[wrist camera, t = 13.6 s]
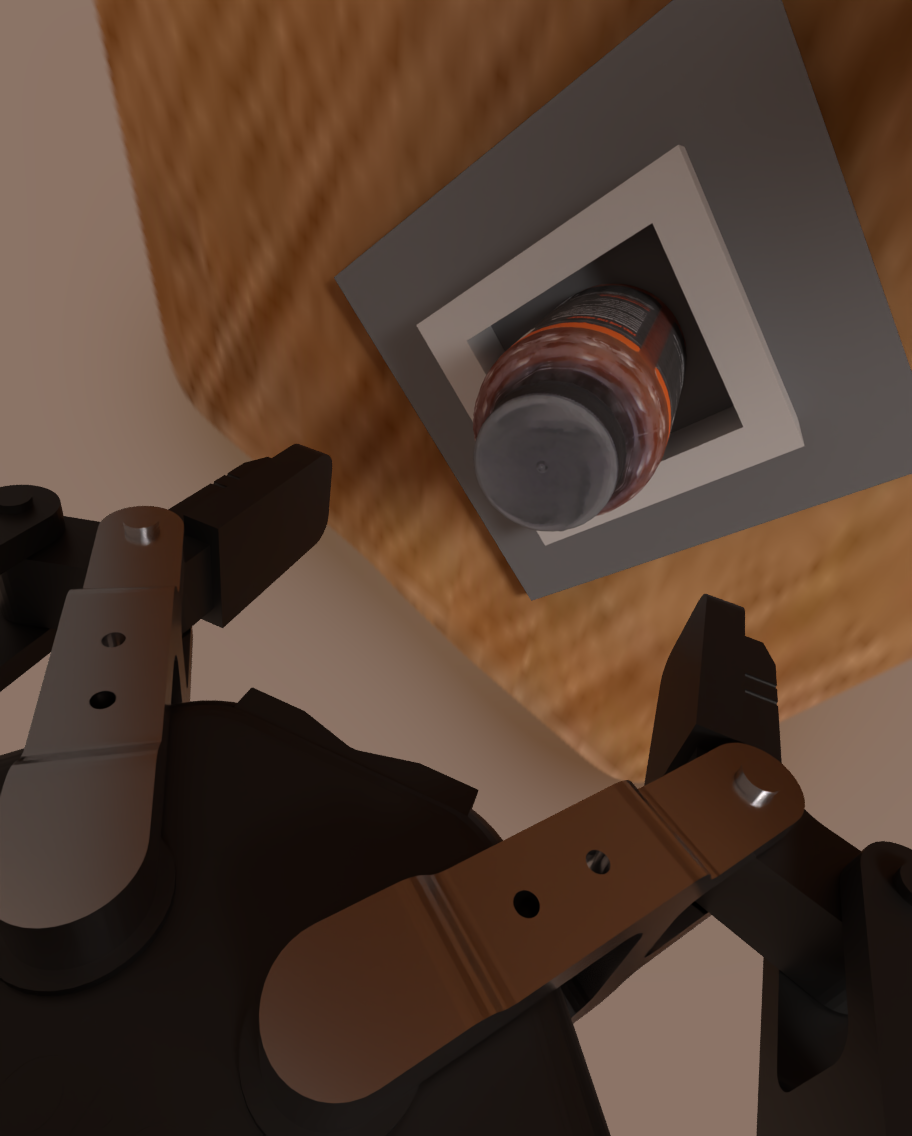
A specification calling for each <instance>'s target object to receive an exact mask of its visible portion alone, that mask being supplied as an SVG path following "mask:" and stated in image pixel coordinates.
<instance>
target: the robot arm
mask: <svg viewBox="0 0 912 1136" xmlns="http://www.w3.org/2000/svg"><path fill="white" fill-rule="evenodd" d="M331 476H332V460H331V458H330V456H329V455H327V454H324V453H322V452H319V451H316V450H313V449H311V448H308V447H305V446H302V445H300V444H294V445H292V446H290V447H289V448H287V449H286V450H284V451H282V452H281V453H279V454H278V455H276V456H275V457H273V458H269V457H265V458H261V459H257V460H254V461H250V462H246V463H243V464H242V465H240V466H239V467H237V468H235V469H234V470H232V471H231V472H229V473H228V475H227V476H225V475H224V476H222V477H221V478H219V479H217V480H216V481H214V484H209V485H208V486H206V487H204V488H203V489H201V490H199V491H198V492H196V493H194V494H193V495H191V496H190V497H188V498H186V499H185V500H183V501H182V502H180V503H178V504H177V505H175V506H173V507H172V508H170V509H168V510H167V509H164V508H160V507H154V506H136V507H129V508H124V509H121V510H118V511H115V512H113V513H111V514H109V515H108V516H106V517H105V518H104V519H103V520H102V521H101V522H97V521H90V520H85V519H78V518H72V517H66V516H63V511H62V507H61V502H60V499H59V497H58V496H57V494H56V493H54V492H53V491H51V490H49V489H46V488H43V487H39V486H33V485H10V486H4V487H0V692H1V691H2V690H3V689H4V688H6V687H7V686H8V685H10V684H11V683H12V682H13V681H15V680H16V679H17V678H18V677H20V676H21V675H22V674H24V673H25V672H26V671H27V670H29V669H30V668H31V667H32V666H34V665H35V664H36V663H38V662H39V661H40V660H41V659H42V658H44V657H45V656H46V655H48V654H49V653H50V652H51V654H50V658H49V662H48V665H47V669H46V672H45V676H44V680H43V683H42V687H41V691H40V694H39V698H38V701H37V705H36V709H35V713H34V716H33V720H32V723H31V727H30V731H29V734H28V738H27V742H26V745H25V748H24V749H21V750H17V751H14V752H11V753H7V754H4V755H0V1136H611V1135H610V1132H609V1130H608V1126H607V1123H606V1120H605V1118H604V1115H603V1112H602V1109H601V1106H600V1103H599V1100H598V1097H597V1094H596V1091H595V1088H594V1085H593V1082H592V1079H591V1076H590V1073H589V1070H588V1067H587V1064H586V1062H585V1059H584V1055H583V1052H582V1049H581V1046H580V1044H579V1041H578V1037H577V1034H576V1031H575V1029H574V1026H573V1023H575V1022H576V1021H577V1020H579V1019H580V1018H581V1017H583V1016H584V1015H585V1014H587V1013H588V1012H589V1011H591V1010H592V1009H593V1008H594V1007H596V1006H597V1005H598V1004H600V1003H601V1002H602V1001H603V1000H604V999H605V998H607V997H608V996H609V995H610V994H611V993H612V992H614V991H615V990H616V989H617V988H618V987H619V986H620V985H621V984H622V983H623V982H624V981H625V980H626V979H627V978H629V977H630V976H631V975H632V974H633V973H634V972H636V971H637V970H638V969H639V968H641V967H642V966H643V965H645V964H646V963H648V962H649V961H650V960H652V959H653V958H654V957H655V956H657V955H658V954H660V953H661V952H662V951H664V950H665V949H666V948H668V947H669V946H670V945H672V944H673V943H674V942H676V941H677V940H679V939H680V938H681V937H683V936H684V935H685V934H687V933H688V932H689V931H691V930H692V929H693V928H695V927H696V926H697V925H698V924H700V923H701V922H703V921H704V920H705V919H707V918H708V917H710V916H711V915H713V916H714V917H715V918H716V919H718V920H719V921H720V922H721V923H723V924H724V925H725V926H726V927H727V928H729V929H730V930H731V931H732V932H734V933H735V934H736V935H737V936H739V937H740V938H741V939H742V940H743V941H745V942H746V943H747V944H748V945H750V946H751V947H752V948H753V949H754V950H756V951H757V952H758V953H759V954H761V955H762V956H763V957H764V961H763V988H762V1012H761V1037H760V1064H759V1066H760V1067H759V1088H758V1089H759V1090H758V1114H757V1136H912V850H911V849H909V848H907V847H905V846H902V845H899V844H896V843H892V842H885V841H881V842H875V843H872V844H870V845H868V846H867V847H866V848H865V849H863V850H862V851H860V850H858V849H857V848H856V847H854V846H853V845H851V844H850V843H848V842H847V841H845V840H844V839H842V838H841V837H839V836H838V835H836V834H835V833H834V832H832V831H831V830H829V829H828V828H826V827H825V826H824V825H822V824H821V823H820V822H818V821H817V820H816V819H815V818H813V817H812V816H811V815H810V814H809V813H808V812H807V811H806V810H805V809H804V808H805V800H804V796H803V792H802V790H801V788H800V785H799V784H798V782H797V781H796V779H795V778H794V776H793V775H792V774H791V772H790V771H789V770H788V769H787V768H786V767H785V766H784V765H783V764H782V762H781V747H780V731H779V714H778V706H777V702H778V697H777V689H776V685H777V681H776V665H775V663H774V661H773V659H772V658H771V656H770V654H769V652H768V651H767V649H766V647H765V645H764V644H763V643H762V642H760V641H757V640H754V639H752V638H749V637H746V636H745V609H744V608H743V607H741V606H738V605H735V604H733V603H730V602H727V601H724V600H722V599H719V598H716V597H713V596H711V595H708V594H704V595H703V596H702V597H701V598H700V600H699V601H698V603H697V605H696V607H695V609H694V611H693V612H692V614H691V616H690V618H689V620H688V622H687V623H686V625H685V627H684V629H683V631H682V633H681V635H680V636H679V638H678V640H677V642H676V644H675V646H674V648H673V649H672V651H671V653H670V656H669V658H668V660H667V663H666V665H665V668H664V671H663V675H662V679H661V684H660V690H659V696H658V703H657V709H656V715H655V721H654V728H653V734H652V740H651V747H650V753H649V759H648V765H647V772H646V778H645V784H644V786H643V787H641V788H639V789H637V788H636V787H635V786H634V784H633V783H632V782H631V781H629V780H625V781H621V782H618V783H616V784H613V785H612V786H610V787H607V788H605V789H604V790H602V791H600V792H598V793H596V794H594V795H592V796H590V797H588V798H586V799H584V800H582V801H580V802H578V803H576V804H574V805H572V806H570V807H568V808H566V809H565V810H562V811H560V812H559V813H557V814H555V815H553V816H551V817H549V818H547V819H545V820H543V821H541V822H539V823H537V824H535V825H533V826H531V827H529V828H527V829H525V830H523V831H521V832H519V833H517V834H516V835H514V836H512V837H510V838H508V839H506V840H504V841H503V840H502V839H501V837H500V836H499V835H498V834H497V832H496V831H495V830H494V829H493V828H492V827H491V826H490V825H489V824H488V823H487V822H486V821H485V820H484V819H483V818H482V817H481V816H480V815H479V814H477V813H476V812H475V811H474V810H472V807H473V804H474V802H475V799H476V796H477V793H478V790H477V789H475V788H473V787H471V786H469V785H466V784H464V783H462V782H460V781H457V780H455V779H453V778H451V777H449V776H447V775H444V774H442V773H440V772H437V771H435V770H433V769H431V768H429V767H427V766H424V765H422V764H420V763H415V762H411V761H406V760H401V759H396V758H392V757H386V756H382V755H377V754H372V753H367V752H362V751H358V750H355V749H353V748H351V747H349V746H348V745H346V744H345V743H344V742H343V741H341V740H340V739H339V738H338V737H336V736H335V735H334V734H333V733H331V732H330V731H329V730H327V729H326V728H325V727H324V726H323V725H321V724H320V723H319V722H318V721H316V720H315V719H314V718H313V717H311V716H310V715H309V714H307V713H306V712H305V711H303V710H301V709H299V708H296V707H294V706H292V705H290V704H288V703H285V702H283V701H281V700H279V699H276V698H274V697H272V696H270V695H268V694H266V693H263V692H261V691H259V690H257V689H255V688H251V689H250V690H249V691H248V692H247V693H246V694H245V695H244V696H243V697H242V698H241V700H240V701H239V702H238V703H235V702H226V701H193V702H190V690H191V669H192V647H193V631H192V626H193V625H194V624H195V623H197V622H198V621H199V620H200V619H203V620H205V621H208V622H210V623H212V624H214V625H217V626H219V627H221V628H223V627H225V626H226V625H227V624H228V623H229V622H230V621H231V620H232V619H233V618H234V617H236V616H237V615H238V614H239V613H240V612H241V611H242V610H243V609H244V608H245V607H247V606H248V605H249V604H250V603H251V602H252V601H253V600H254V599H256V598H257V597H258V596H259V595H260V594H261V593H262V592H263V591H264V590H265V589H266V588H268V587H269V586H270V585H271V584H272V583H273V582H274V581H275V580H276V579H278V578H279V577H280V576H281V575H282V574H283V573H284V572H285V571H287V570H288V569H289V568H290V567H291V566H292V565H293V564H294V563H295V562H296V561H298V560H299V559H300V558H301V557H302V556H303V555H304V554H305V553H306V552H307V551H309V550H310V549H311V548H312V547H313V546H314V545H315V544H316V543H317V542H318V541H319V540H320V538H321V536H322V534H323V533H324V530H325V528H326V525H327V521H328V514H329V501H330V488H331Z"/></svg>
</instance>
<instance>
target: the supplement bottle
mask: <svg viewBox="0 0 912 1136" xmlns="http://www.w3.org/2000/svg"><path fill="white" fill-rule="evenodd" d="M686 361H687V355H686V342H685V339H684V335H683V332H682V330H681V327H680V325H679V323H678V321H677V319H676V317H675V316H674V314H673V313H672V311H671V310H670V309H669V308H668V307H667V306H666V305H665V304H664V303H663V302H662V301H661V300H660V299H659V298H658V297H656V296H655V295H653V294H652V293H650V292H648V291H646V290H644V289H641V288H638V287H635V286H631V285H626V284H601V285H597V286H594V287H590V288H587V289H585V290H583V291H581V292H579V293H576V294H575V295H573V296H571V297H570V298H568V299H567V300H565V301H564V302H563V303H561V304H560V305H559V306H558V307H557V308H556V309H554V310H553V311H552V312H551V313H550V314H548V315H547V316H546V317H545V318H543V319H542V320H541V321H540V322H539V323H538V324H537V325H535V326H534V327H533V328H532V329H531V330H529V331H528V332H527V333H526V334H525V335H524V336H523V337H521V338H520V339H519V340H518V341H517V342H516V343H515V344H513V345H512V346H511V347H510V348H509V349H508V350H507V351H506V352H505V353H503V354H502V355H501V356H500V357H499V359H498V360H497V361H496V362H495V363H494V365H493V366H492V367H491V369H490V370H489V371H488V373H487V375H486V377H485V378H484V381H483V383H482V385H481V387H480V391H479V393H478V396H477V399H476V402H475V407H474V414H473V416H474V419H473V431H474V439H475V446H474V452H473V462H474V470H475V474H476V478H477V481H478V483H479V486H480V488H481V490H482V492H483V494H484V495H485V497H486V499H487V500H488V501H489V502H490V504H491V505H492V506H493V507H494V508H495V509H496V510H497V511H499V512H500V513H501V514H502V515H504V516H505V517H506V518H507V519H509V520H510V521H512V522H514V523H516V524H518V525H520V526H523V527H526V528H528V529H531V530H536V531H551V532H554V531H560V532H561V531H565V530H568V529H572V528H575V527H578V526H580V525H583V524H585V523H586V522H588V521H589V520H591V519H592V518H594V517H595V516H599V515H602V514H605V513H607V512H610V511H612V510H614V509H616V508H618V507H620V506H621V505H623V504H625V503H626V502H628V501H629V500H631V499H632V498H633V497H634V496H636V495H637V494H638V493H639V492H640V491H641V490H642V489H643V488H644V487H645V485H646V484H647V483H648V482H649V480H650V479H651V477H652V476H653V475H654V473H655V471H656V469H657V467H658V465H659V464H660V462H661V459H662V457H663V455H664V451H665V448H666V445H667V442H668V439H669V437H670V432H671V428H672V424H673V420H674V417H675V413H676V409H677V405H678V401H679V397H680V393H681V389H682V386H683V381H684V378H685V373H686Z"/></svg>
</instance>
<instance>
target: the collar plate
mask: <svg viewBox="0 0 912 1136" xmlns="http://www.w3.org/2000/svg"><path fill="white" fill-rule="evenodd" d="M334 278H335V280H336V282H337V283H338V285H339V287H340V288H341V290H342V291H343V293H344V295H345V296H346V298H347V300H348V301H349V303H350V305H351V306H352V308H353V309H354V311H355V313H356V314H357V316H358V318H359V319H360V321H361V323H362V324H363V326H364V328H365V329H366V331H367V332H368V334H369V336H370V337H371V339H372V341H373V342H374V344H375V346H376V347H377V349H378V350H379V352H380V354H381V355H382V357H383V359H384V360H385V362H386V364H387V365H388V367H389V368H390V370H391V372H392V373H393V375H394V377H395V378H396V380H397V382H398V383H399V385H400V386H401V388H402V390H403V391H404V393H405V395H406V396H407V398H408V400H409V401H410V403H411V404H412V406H413V408H414V409H415V411H416V413H417V414H418V416H419V418H420V419H421V421H422V422H423V424H424V426H425V427H426V429H427V431H428V432H429V434H430V436H431V437H432V439H433V440H434V442H435V444H436V445H437V447H438V449H439V450H440V452H441V454H442V455H443V457H444V458H445V460H446V462H447V463H448V465H449V467H450V468H451V470H452V472H453V473H454V475H455V476H456V478H457V480H458V481H459V483H460V485H461V486H462V488H463V490H464V491H465V493H466V495H467V496H468V498H469V499H470V501H471V503H472V504H473V506H474V508H475V509H476V511H477V513H478V514H479V516H480V517H481V519H482V521H483V522H484V524H485V526H486V527H487V529H488V531H489V532H490V534H491V535H492V537H493V539H494V540H495V542H496V544H497V545H498V547H499V549H500V550H501V552H502V553H503V555H504V557H505V558H506V560H507V562H508V563H509V565H510V567H511V568H512V570H513V571H514V573H515V575H516V576H517V578H518V580H519V581H520V583H521V585H522V586H523V588H524V589H525V591H526V593H527V594H528V596H529V598H530V599H531V601H532V600H535V599H538V598H541V597H544V596H547V595H550V594H553V593H556V592H559V591H562V590H565V589H568V588H571V587H574V586H577V585H580V584H583V583H586V582H589V581H592V580H595V579H598V578H601V577H604V576H607V575H610V574H613V573H616V572H619V571H622V570H625V569H628V568H631V567H634V566H637V565H640V564H643V563H646V562H649V561H652V560H655V559H658V558H661V557H663V556H666V555H669V554H672V553H675V552H678V551H681V550H684V549H687V548H690V547H693V546H696V545H699V544H702V543H705V542H708V541H711V540H714V539H717V538H720V537H723V536H726V535H729V534H732V533H735V532H738V531H741V530H744V529H747V528H750V527H753V526H756V525H759V524H762V523H765V522H768V521H771V520H774V519H777V518H780V517H783V516H786V515H789V514H792V513H795V512H798V511H801V510H804V509H807V508H810V507H813V506H816V505H819V504H822V503H825V502H828V501H831V500H834V499H837V498H840V497H843V496H846V495H849V494H852V493H855V492H858V491H861V490H864V489H867V488H870V487H873V486H876V485H879V484H882V483H885V482H888V481H891V480H894V479H897V478H900V477H903V476H906V475H909V474H912V371H911V369H910V366H909V363H908V360H907V357H906V354H905V351H904V349H903V346H902V343H901V340H900V337H899V334H898V331H897V329H896V326H895V323H894V320H893V317H892V314H891V311H890V309H889V306H888V303H887V300H886V297H885V294H884V291H883V289H882V286H881V283H880V280H879V277H878V274H877V271H876V269H875V266H874V263H873V260H872V257H871V254H870V251H869V249H868V246H867V243H866V240H865V237H864V234H863V231H862V229H861V226H860V223H859V220H858V217H857V214H856V211H855V209H854V206H853V203H852V200H851V197H850V194H849V191H848V189H847V186H846V183H845V180H844V177H843V174H842V171H841V169H840V166H839V163H838V160H837V157H836V154H835V151H834V149H833V146H832V143H831V140H830V137H829V134H828V131H827V129H826V126H825V123H824V120H823V117H822V114H821V111H820V109H819V106H818V103H817V100H816V97H815V94H814V91H813V89H812V86H811V83H810V80H809V77H808V74H807V71H806V69H805V66H804V63H803V60H802V57H801V54H800V51H799V49H798V46H797V43H796V40H795V37H794V34H793V31H792V29H791V26H790V23H789V20H788V17H787V14H786V11H785V9H784V6H783V3H782V0H672V1H671V2H670V3H669V4H668V5H666V6H665V7H664V8H663V9H661V10H660V11H659V12H658V13H657V14H655V15H654V16H653V17H652V18H650V19H649V20H648V21H647V22H646V23H644V24H643V25H642V26H641V27H639V28H638V29H637V30H636V31H635V32H633V33H632V34H631V35H630V36H628V37H627V38H626V39H625V40H624V41H622V42H621V43H620V44H619V45H617V46H616V47H615V48H614V49H613V50H611V51H610V52H609V53H608V54H606V55H605V56H604V57H603V58H602V59H600V60H599V61H598V62H597V63H595V64H594V65H593V66H592V67H591V68H589V69H588V70H587V71H586V72H584V73H583V74H582V75H581V76H580V77H578V78H577V79H576V80H575V81H573V82H572V83H571V84H570V85H569V86H567V87H566V88H565V89H564V90H562V91H561V92H560V93H559V94H558V95H556V96H555V97H554V98H553V99H551V100H550V101H549V102H548V103H547V104H545V105H544V106H543V107H542V108H540V109H539V110H538V111H537V112H536V113H534V114H533V115H532V116H531V117H529V118H528V119H527V120H526V121H525V122H523V123H522V124H521V125H520V126H518V127H517V128H516V129H515V130H514V131H512V132H511V133H510V134H509V135H507V136H506V137H505V138H504V139H503V140H501V141H500V142H499V143H498V144H496V145H495V146H494V147H493V148H492V149H490V150H489V151H488V152H487V153H485V154H484V155H483V156H482V157H481V158H479V159H478V160H477V161H476V162H474V163H473V164H472V165H471V166H470V167H468V168H467V169H466V170H465V171H463V172H462V173H461V174H460V175H459V176H457V177H456V178H455V179H454V180H452V181H451V182H450V183H449V184H448V185H446V186H445V187H444V188H443V189H441V190H440V191H439V192H438V193H437V194H435V195H434V196H433V197H432V198H430V199H429V200H428V201H427V202H426V203H424V204H423V205H422V206H421V207H419V208H418V209H417V210H416V211H415V212H413V213H412V214H411V215H410V216H408V217H407V218H406V219H405V220H404V221H402V222H401V223H400V224H399V225H397V226H396V227H395V228H394V229H393V230H391V231H390V232H389V233H388V234H386V235H385V236H384V237H383V238H382V239H380V240H379V241H378V242H377V243H375V244H374V245H373V246H372V247H371V248H369V249H368V250H367V251H366V252H364V253H363V254H362V255H361V256H360V257H358V258H357V259H356V260H355V261H353V262H352V263H351V264H350V265H349V266H347V267H346V268H345V269H344V270H342V271H341V272H340V273H339V274H338V275H336V276H335V277H334ZM601 284H626V285H631V286H635V287H638V288H641V289H644V290H646V291H648V292H650V293H652V294H653V295H655V296H656V297H658V298H659V299H660V300H661V301H662V302H663V303H664V304H665V305H666V306H667V307H668V308H669V309H670V310H671V311H672V313H673V314H674V316H675V317H676V319H677V321H678V323H679V325H680V327H681V330H682V332H683V335H684V339H685V342H686V355H687V361H686V373H685V378H684V381H683V386H682V389H681V393H680V397H679V401H678V405H677V409H676V413H675V417H674V420H673V424H672V428H671V432H670V437H669V439H668V442H667V445H666V448H665V451H664V455H663V457H662V459H661V462H660V464H659V465H658V467H657V469H656V471H655V473H654V475H653V476H652V477H651V479H650V480H649V482H648V483H647V484H646V485H645V487H644V488H643V489H642V490H641V491H640V492H639V493H638V494H637V495H636V496H634V497H633V498H632V499H631V500H629V501H628V502H626V503H625V504H623V505H621V506H620V507H618V508H616V509H614V510H612V511H610V512H607V513H605V514H602V515H599V516H595V517H594V518H592V519H591V520H589V521H588V522H586V523H585V524H583V525H580V526H578V527H575V528H572V529H568V530H565V531H561V532H560V531H554V532H551V531H536V530H531V529H528V528H526V527H523V526H520V525H518V524H516V523H514V522H512V521H510V520H509V519H507V518H506V517H505V516H504V515H502V514H501V513H500V512H499V511H497V510H496V509H495V508H494V507H493V506H492V505H491V504H490V502H489V501H488V500H487V499H486V497H485V495H484V494H483V492H482V490H481V488H480V486H479V483H478V481H477V478H476V474H475V470H474V462H473V452H474V446H475V439H474V431H473V419H474V416H473V414H474V407H475V402H476V399H477V396H478V393H479V391H480V387H481V385H482V383H483V381H484V378H485V377H486V375H487V373H488V371H489V370H490V369H491V367H492V366H493V365H494V363H495V362H496V361H497V360H498V359H499V357H500V356H501V355H502V354H503V353H505V352H506V351H507V350H508V349H509V348H510V347H511V346H512V345H513V344H515V343H516V342H517V341H518V340H519V339H520V338H521V337H523V336H524V335H525V334H526V333H527V332H528V331H529V330H531V329H532V328H533V327H534V326H535V325H537V324H538V323H539V322H540V321H541V320H542V319H543V318H545V317H546V316H547V315H548V314H550V313H551V312H552V311H553V310H554V309H556V308H557V307H558V306H559V305H560V304H561V303H563V302H564V301H565V300H567V299H568V298H570V297H571V296H573V295H575V294H576V293H579V292H581V291H583V290H585V289H587V288H590V287H594V286H597V285H601Z"/></svg>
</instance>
